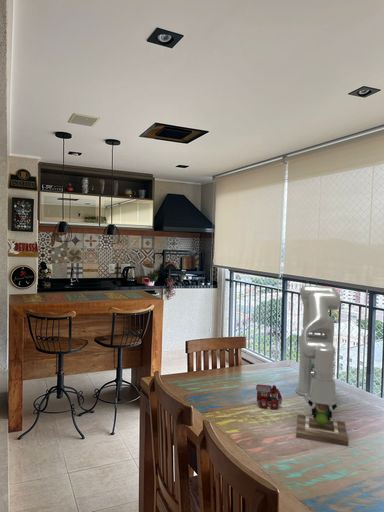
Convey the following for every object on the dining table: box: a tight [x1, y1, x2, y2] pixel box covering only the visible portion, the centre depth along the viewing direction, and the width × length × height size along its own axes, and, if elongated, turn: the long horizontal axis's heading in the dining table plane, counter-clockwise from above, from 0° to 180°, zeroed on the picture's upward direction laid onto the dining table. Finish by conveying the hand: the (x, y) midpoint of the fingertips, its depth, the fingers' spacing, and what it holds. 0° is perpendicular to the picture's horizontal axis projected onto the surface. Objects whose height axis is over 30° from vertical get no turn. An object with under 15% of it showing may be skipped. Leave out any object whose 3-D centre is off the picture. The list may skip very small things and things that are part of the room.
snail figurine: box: [315, 403, 328, 425], centre depth 164 cm, size 5×6×12 cm
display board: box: [295, 414, 349, 447], centre depth 164 cm, size 18×20×3 cm
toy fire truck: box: [255, 383, 283, 410], centre depth 188 cm, size 7×12×10 cm, turn 84°
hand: (321, 417), depth 164 cm, fingers closed on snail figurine, 5 cm apart
